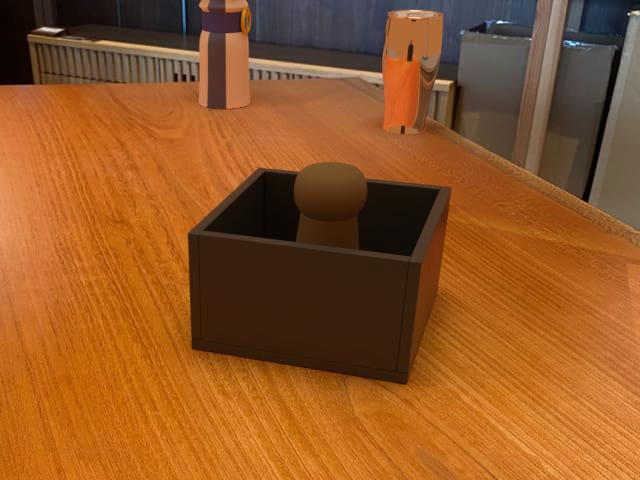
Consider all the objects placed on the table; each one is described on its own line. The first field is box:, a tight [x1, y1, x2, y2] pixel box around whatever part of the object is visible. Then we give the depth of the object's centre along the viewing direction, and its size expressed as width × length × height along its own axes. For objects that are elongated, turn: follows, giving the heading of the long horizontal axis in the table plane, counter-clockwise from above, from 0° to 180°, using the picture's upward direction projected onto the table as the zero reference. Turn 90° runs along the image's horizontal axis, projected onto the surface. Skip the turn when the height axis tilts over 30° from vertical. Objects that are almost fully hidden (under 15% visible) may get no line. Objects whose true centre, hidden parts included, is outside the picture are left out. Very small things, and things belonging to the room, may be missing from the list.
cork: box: [294, 161, 367, 250], centre depth 62 cm, size 6×6×11 cm
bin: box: [187, 167, 453, 385], centre depth 63 cm, size 16×16×9 cm
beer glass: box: [381, 9, 444, 135], centre depth 104 cm, size 7×7×15 cm
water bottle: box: [198, 0, 252, 110], centre depth 119 cm, size 8×9×25 cm
